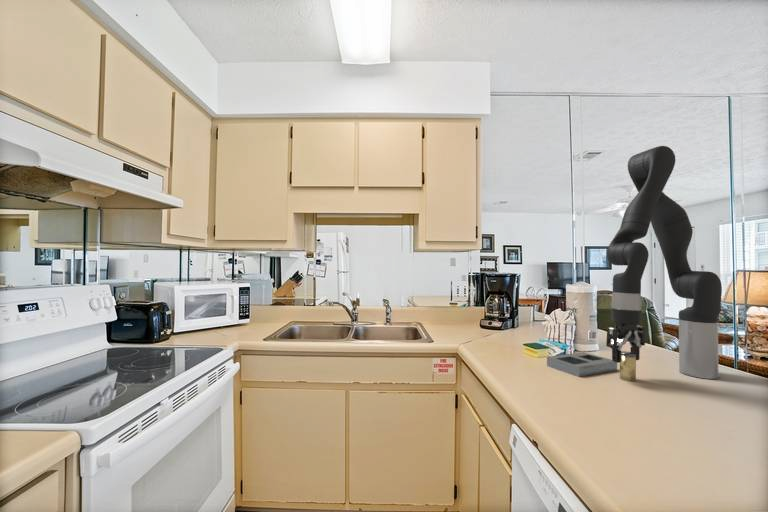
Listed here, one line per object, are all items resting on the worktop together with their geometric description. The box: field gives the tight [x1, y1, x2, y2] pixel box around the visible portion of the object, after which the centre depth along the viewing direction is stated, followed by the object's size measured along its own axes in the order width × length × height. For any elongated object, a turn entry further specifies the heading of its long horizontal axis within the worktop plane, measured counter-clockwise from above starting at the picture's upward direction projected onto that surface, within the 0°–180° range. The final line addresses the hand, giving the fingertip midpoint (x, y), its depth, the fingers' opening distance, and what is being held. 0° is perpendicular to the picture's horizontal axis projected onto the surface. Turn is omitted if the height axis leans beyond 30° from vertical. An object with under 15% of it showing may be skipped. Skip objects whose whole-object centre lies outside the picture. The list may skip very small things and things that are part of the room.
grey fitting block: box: [546, 351, 618, 377], centre depth 113 cm, size 18×12×3 cm, turn 112°
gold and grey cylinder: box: [619, 350, 637, 383], centre depth 102 cm, size 4×4×8 cm
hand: (625, 360), depth 102 cm, fingers open, 8 cm apart
